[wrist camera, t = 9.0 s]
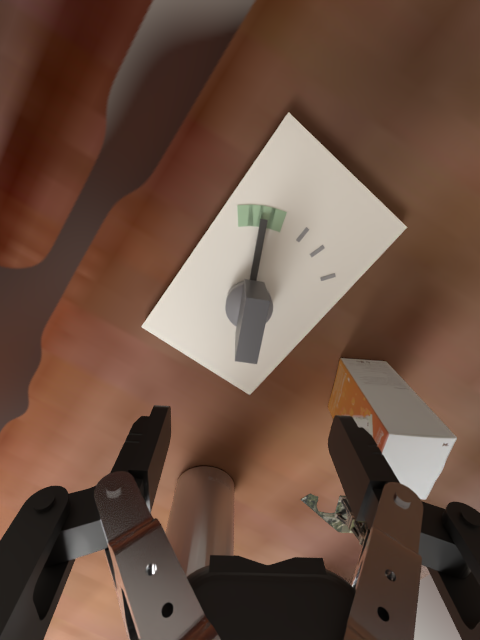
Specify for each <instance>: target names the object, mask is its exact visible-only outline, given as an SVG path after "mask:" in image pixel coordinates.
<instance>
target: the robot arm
mask: <svg viewBox="0 0 480 640" xmlns="http://www.w3.org/2000/svg"><path fill="white" fill-rule="evenodd" d="M170 438H171V408H170V406H156V405H155V406H154V407H153V409H152V412H151V414H150V416H141V417H140V418H139V419H138V420H137V421H136V422H135V423H134V424H133V426H132V428H131V430H130V432H129V435H128V436H127V438H126V441H125V443H124V445H123V447H122V449H121V451H120V453H119V456H118V458H117V460H116V462H115V464H114V466H113V468H112V471H111V472H110V474H108V475H106V476H105V477H103V478H102V479H101V480H100V481H99V482H98V484H97V485H96V486H94V487H92V488H89V489H86V490H82V491H78V492H74V493H70V494H68V492H67V490H66V489H65V488H64V487H61V486H50V487H46V488H44V489H42V490H39V491H38V492H36V493H35V494H33V495H32V496H31V497H30V498H29V499H28V500H27V501H26V502H25V503H24V505H23V506H22V508H21V509H20V511H19V512H18V514H17V515H16V517H15V519H14V520H13V522H12V523H11V525H10V526H9V528H8V529H7V531H6V533H5V534H4V536H3V537H2V539H1V540H0V640H43V639H44V637H45V634H46V632H47V629H48V627H49V624H50V622H51V619H52V617H53V614H54V612H55V609H56V607H57V604H58V602H59V599H60V596H61V594H62V591H63V589H64V586H65V584H66V581H67V579H68V576H69V574H70V571H71V569H72V566H73V564H74V561H75V559H76V558H78V557H81V556H84V555H87V554H91V553H94V552H97V551H100V550H104V553H105V556H106V560H107V563H108V567H109V570H110V573H111V577H112V580H113V584H114V587H115V590H116V594H117V597H118V601H119V606H120V610H121V614H122V618H123V622H124V625H125V629H126V632H127V636H128V639H129V640H414V631H415V622H416V613H417V603H418V594H419V584H420V574H421V565H424V566H426V567H427V568H428V570H429V572H430V574H431V576H432V578H433V581H434V583H435V585H436V587H437V589H438V591H439V593H440V595H441V597H442V599H443V601H444V603H445V605H446V607H447V609H448V612H449V614H450V615H451V618H452V620H453V622H454V624H455V626H456V628H457V630H458V632H459V634H460V636H461V639H462V640H480V513H479V512H478V511H476V510H475V509H473V508H472V507H470V506H468V505H466V504H464V503H460V502H451V503H449V504H448V505H447V507H446V509H443V508H440V507H437V506H434V505H431V504H428V503H425V502H422V501H421V500H420V498H419V497H418V495H417V494H416V493H415V492H414V491H413V490H411V489H410V488H409V487H407V486H405V485H403V484H401V483H400V482H399V480H398V479H397V477H396V475H395V474H394V472H393V470H392V469H391V467H390V465H389V464H388V462H387V460H386V459H385V457H384V455H382V452H381V450H380V449H379V447H378V446H377V444H376V442H375V440H374V438H373V437H372V435H371V434H369V433H368V432H367V431H366V430H365V429H364V428H363V427H358V426H357V424H356V422H355V420H354V419H353V417H352V416H343V415H335V416H334V419H333V423H332V427H331V430H330V434H329V438H328V448H329V453H330V455H331V458H332V461H333V463H334V466H335V468H336V471H337V474H338V476H339V479H340V481H341V484H342V487H343V489H344V492H345V494H346V497H347V500H348V502H349V505H350V508H351V510H352V513H353V515H354V518H355V521H366V523H367V526H368V530H367V532H366V536H365V539H364V542H363V546H362V549H361V553H360V556H359V559H358V563H357V566H356V569H355V573H354V576H353V579H352V582H351V585H350V584H349V583H348V582H347V581H346V580H344V579H343V578H342V577H340V576H338V575H337V574H335V573H333V572H331V571H329V570H326V569H325V566H324V562H323V558H300V557H295V558H292V559H288V560H285V561H282V562H278V563H275V564H272V565H264V564H261V563H258V562H255V561H252V560H249V559H246V558H243V557H240V556H233V553H234V482H233V480H232V479H231V477H230V476H229V475H228V474H227V473H225V472H224V471H222V470H220V469H218V468H214V467H208V466H201V467H195V468H191V469H189V470H187V471H185V472H184V473H183V474H182V475H181V476H180V477H179V479H178V480H177V484H176V489H175V493H174V498H173V502H172V506H171V511H170V515H169V520H168V524H167V529H166V533H165V532H164V530H163V528H162V526H161V524H160V522H159V521H158V519H156V518H155V519H153V517H152V515H151V509H152V506H153V502H154V499H155V495H156V491H157V488H158V484H159V480H160V477H161V473H162V469H163V466H164V462H165V459H166V455H167V451H168V448H169V444H170Z"/></svg>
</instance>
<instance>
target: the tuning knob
mask: <svg viewBox="0 0 480 640" xmlns="http://www.w3.org/2000/svg"><path fill="white" fill-rule="evenodd" d="M267 222H268V220H266V219H260V223H259V229H258V235H257V240H256V246H255V252H254V257H253V263H252V268H251V274H250V280H248V279H245V280H244V281H241V282H239V283H237V284H235V285H234V286H233V287H232V288H231V289H230V290H229V292H228V295H227V298H226V306H225V310H226V315H227V317H228V319H229V320H230V322H231V323H232V324H233V325H235V326H236V332H235V361H237V362H244V363H252V364H257V362H258V357H259V353H260V348H261V343H262V339H263V334H264V329H265V324H266V323H267V322H268V321H269V319H270V318H271V315H272V313H273V302H272V299H271V296H270V293H269V291H268V290H267V288H266V286H265V283H264V282H261V281H256V280H257V275H258V270H259V264H260V259H261V254H262V248H263V243H264V238H265V232H266V227H267Z"/></svg>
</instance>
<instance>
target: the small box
mask: <svg viewBox="0 0 480 640" xmlns="http://www.w3.org/2000/svg"><path fill="white" fill-rule="evenodd" d="M328 409H329V411H330V413H331V416H332V418H333V419H334V416H335V415H343V416H352V417H353V419H354V420H355V422H356V424H357V426H358V427H363V428H364V429H365V430H366V431H367V432H368V433H369V434H371V435H372V437H373V438H374V440H375V442H376V444H377V446H378V447H379V449H380V450H381V452H382V455H384V457H385V459H386V460H387V462H388V464H389V465H390V467H391V469H392V470H393V472H394V474H395V475H396V477H397V479H398V480H399V482H400V483H401V484H403V485H405V486H407V487H409V488H410V489H411V490H413V491H414V492H415V493H416V494H417V495H418V497H419V498H420V499H426V498H427V496H428V495H429V493H430V491H431V489H432V487H433V485H434V483H435V481H436V479H437V478H438V476H439V475H440V473H441V472H442V470H443V468H444V465H445V462H446V460H447V457H448V455H449V453H450V451H451V449H452V447H453V445H454V443H455V441H456V439H457V437H456V436H455V435H454V434H453V433H452V432H451V431H450V430H449V429H448V427H447V426H446V425H445V424H444V423H443V422H442V421H441V420H440V419H439V418H438V417H437V416H436V414H435V413H434V412H433V411H432V410H431V409H430V408H429V407H428V406H427V405H426V404H425V403H424V402H423V400H422V399H421V398H420V397H419V396H418V395H417V394H416V393H415V392H414V391H413V390H412V389H411V387H410V386H409V385H408V384H407V383H406V382H405V381H404V380H403V379H402V378H401V377H400V376H399V375H398V373H397V372H396V371H395V370H394V369H393V368H392V367H391V366H390V365H389V364H388V363H387V362H386V361H375V360H362V359H347V358H340V360H339V365H338V370H337V374H336V378H335V382H334V386H333V389H332V393H331V397H330V400H329V404H328Z"/></svg>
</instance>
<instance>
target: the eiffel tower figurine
mask: <svg viewBox="0 0 480 640" xmlns="http://www.w3.org/2000/svg"><path fill="white" fill-rule="evenodd" d="M301 500H302V501H303V502H304V503H305V504H306V505H307V506H309V507H310V508H311V509H312V510H313V511H315V512H316V513H317V514H318V515H319V516H320V517H321V518H323V519H324V520H325V521H326V522H327V523H328V524H329V525H331V526H332V527H333V528H334V529H335V530H337V531H338V532H341V533H354V534H355V536H356V537H357V539H358V540H359V542H360V543H359V544H361V545H362V546H363V542H364V539H365V536H366V532H367V530H368V526H367V523H366V521H355V518H354V515H353V513H352V510H351V508H350V505H349V502H348V500H347V497H346V496H340V497H339V501H338V504H337V508H336V512H335V513H324V512H319V511H318V509H317V506H316V505H317V501H318V496H314V495H312V494H309V495H307V496H306V497H304V498H302V499H301Z"/></svg>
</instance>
